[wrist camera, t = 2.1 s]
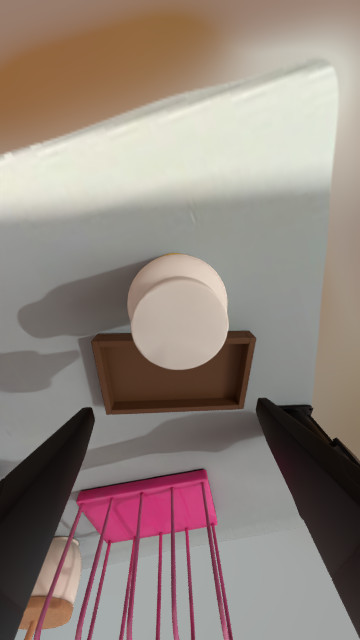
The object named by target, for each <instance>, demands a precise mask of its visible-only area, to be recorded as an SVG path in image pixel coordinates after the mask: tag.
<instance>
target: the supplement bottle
mask: <svg viewBox="0 0 360 640" xmlns="http://www.w3.org/2000/svg"><path fill="white" fill-rule="evenodd" d="M127 307H128V314H129V318H130V321H131V333H132V337H133V340H134V343H135V345H136V347H137V348H138V350H139V351H140V352H141V354H142V355H143V356H144V357H145V358H147V359H148V360H149V361H150V362H152V363H154V364H156V365H158V366H160V367H163V368H167V369H173V370H185V369H191V368H195V367H197V366H200V365H202V364H204V363H206V362H207V361H209V360H210V359H211V358H213V357H214V356H215V355H216V354H217V353H218V351H219V350H220V349H221V347H222V346H223V344H224V342H225V340H226V337H227V332H228V327H229V325H228V315H227V312H226V311H227V294H226V290H225V287H224V284H223V282H222V280H221V278H220V277H219V275H218V274H217V273H216V272H215V270H214V269H213V268H212V267H211V266H209V265H208V264H207V263H205V262H204V261H202V260H200V259H198V258H196V257H193V256H190V255H185V254H179V253H170V254H166V255H163V256H161V257H159V258H157V259H155V260H153V261H151V262H150V263H148V264H147V265H146V266H145V267H143V268H142V269H141V270H140V271H139V273H138V274H137V275H136V277H135V278H134V280H133V282H132V284H131V286H130V289H129V293H128V300H127Z"/></svg>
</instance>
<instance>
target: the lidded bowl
mask: <svg viewBox="0 0 360 640" xmlns="http://www.w3.org/2000/svg"><path fill="white" fill-rule="evenodd" d="M67 540H68V537H55V538H53V540H52V543H51V545H50V548H49V550H48V553H47V556H46V558H45V561H44V563H43V566H42V569H41V571H40V574H39V576H38V579H37V581H36V584H35V587H34V589H33V592H32V594H31V597H30V600H29V602H28V605H27V607H26V610H25V612H24V615H23V618H22V621H21V623H20V626H19V628H18V629H25V630H28V631H27V633H26V636H25V639H24V640H31V639H32V637H33V634H34V631H35V630H36V627H37V623H38V620H39V617H40V614H41V611H42V608H43V606H44V603H45V600H46V597H47V595H48V592H49V589H50V586H51V584H52V581H53V578H54V575H55V573H56V570H57V567H58V565H59V562H60V559H61V556H62V554H63V551H64V548H65V545H66V543H67ZM78 546H79V542H78V541H77V540H75V539H73V538H72V541H71V544H70V546H69V549H68V552H67V555H66V558H65V561H64V564H63V566H62V569H61V572H60V575H59V578H58V580H57V583H56V586H55V589H54V592H53V595H52V597H51V600H50V603H49V606H48V609H47V612H46V615H45V618H44V622H43V625H42V629H49V628H55V627H58V626H62V625H64V624H66V623H67V622H68V621H69V620H70V618H71V615H72V611H73V605H74V601H75V598H76V594H77V590H78V586H79V581H80V576H81V568H82V559H81V553H80V549H79V547H78Z"/></svg>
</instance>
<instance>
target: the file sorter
mask: <svg viewBox="0 0 360 640" xmlns="http://www.w3.org/2000/svg"><path fill="white" fill-rule="evenodd" d="M76 503H77V504H78V506H79V510H78V513H77V516H76V518H75V521H74V524H73V526H72V529H71V532H70V535H69V537H68V540H67V543H66V545H65V548H64V551H63V554H62V556H61V559H60V562H59V565H58V567H57V570H56V573H55V575H54V578H53V581H52V584H51V586H50V589H49V592H48V595H47V597H46V600H45V603H44V606H43V608H42V611H41V614H40V617H39V620H38V623H37V627H36V631H35V635H34V640H40V634H41V629H42V625H43V622H44V618H45V615H46V612H47V609H48V606H49V603H50V600H51V597H52V595H53V592H54V589H55V586H56V583H57V580H58V578H59V575H60V572H61V569H62V566H63V564H64V561H65V558H66V555H67V552H68V549H69V546H70V544H71V541H72V538H73V535H74V532H75V529H76V527H77V524H78V521H79V518H80V515H81V513H82V511H83V512H84V514H85V515H86V516H87V518H88V519H89V521H90V522H91V523H92V524H93V526H94V527H95V528H96V530H97V531H98V532H99V534H100V535H101V536H100V540H99V544H98V548H97V551H96V555H95V559H94V563H93V567H92V571H91V574H90V578H89V582H88V585H87V589H86V593H85V597H84V601H83V604H82V608H81V612H80V616H79V621H78V625H77V630H76V636H75V640H81V633H82V626H83V621H84V617H85V613H86V608H87V605H88V600H89V596H90V592H91V588H92V584H93V580H94V576H95V572H96V568H97V565H98V561H99V557H100V553H101V549H102V544H103V540H105V541H106V543H108V546H107V551H106V555H105V560H104V565H103V570H102V575H101V579H100V583H99V588H98V593H97V597H96V602H95V607H94V611H93V616H92V620H91V625H90V630H89V634H88V638H87V640H91V638H92V633H93V628H94V623H95V619H96V614H97V609H98V604H99V599H100V595H101V590H102V585H103V580H104V575H105V571H106V566H107V561H108V556H109V551H110V546H111V543H115V542H120V541H126V540H133V539H134V540H133V547H132V554H131V561H130V568H129V575H128V582H127V589H126V596H125V603H124V611H123V617H122V624H121V631H120V637H119V640H123V636H124V628H125V621H126V613H127V606H128V599H129V608H128V619H127V640H132V617H133V604H134V592H135V582H136V571H137V561H138V551H139V540H140V538H145V537H151V536H157V535H160V536H159V567H158V596H157V597H158V598H157V625H156V640H160V609H161V566H162V535H163V534H169V533H171V579H172V580H171V586H172V587H171V589H172V590H171V592H172V623H173V634H174V640H179V636H178V626H177V612H176V573H175V572H176V570H175V532H180V531H185V532H186V550H187V566H188V586H189V602H190V620H191V640H195V630H194V612H193V599H192V582H191V568H190V552H189V536H188V530H192V529H198V528H204V527H207V531H208V538H209V545H210V552H211V558H212V566H213V573H214V580H215V587H216V594H217V600H218V607H219V613H220V619H221V625H222V631H223V636H224V640H233V637H232V631H231V624H230V618H229V612H228V606H227V600H226V594H225V588H224V582H223V576H222V570H221V564H220V558H219V552H218V546H217V539H216V534H215V528H214V526H215V525H217V518H216V513H215V508H214V504H213V499H212V495H211V490H210V486H209V481H208V477H207V472H206V470H200V471H194V472H188V473H182V474H177V475H171V476H165V477H159V478H154V479H148V480H142V481H136V482H131V483H125V484H120V485H114V486H108V487H103V488H97V489H91V490H86V491H81V492H80V493H79V496H78V499H77V501H76ZM210 526H212V532H213V538H214V544H215V551H216V557H217V563H218V570H219V576H220V583H221V589H222V596H223V602H224V608H225V615H226V621H227V627H228V632H227V627H226V621H225V615H224V609H223V603H222V597H221V592H220V585H219V579H218V573H217V566H216V560H215V553H214V546H213V540H212V533H211V527H210ZM131 576H132V578H131ZM130 584H131V588H130ZM129 591H130V598H129ZM228 635H229V636H228Z"/></svg>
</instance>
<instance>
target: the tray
mask: <svg viewBox="0 0 360 640" xmlns="http://www.w3.org/2000/svg"><path fill="white" fill-rule="evenodd" d="M255 342H256V337H255V336H254V335H253V334H252V333H251V332H250V331H228V332H227V337H226V340H225V342H224V344H223V346H222V347H221V349H220V350H219V351H218V353H217V354H216V355H215V356H214V357H213V358H211V359H210V360H209V361H207V362H206V363H204V364H202V365H200V366H197V367H195V368H191V369H185V370H173V369H167V368H163V367H160V366H158V365H156V364H154V363H152V362H150V361H149V360H148V359H147V358H145V357H144V356H143V355H142V354H141V352H140V351H139V350H138V348H137V347H136V345H135V343H134V340H133V337H132V333H112V334H97V336H96V337H95V338H94V339H93V340H92V341H91V343H92V347H93V352H94V357H95V362H96V367H97V371H98V376H99V381H100V386H101V391H102V395H103V400H104V405H105V410H106V414H107V415H110V414H112V415H114V414H137V413H161V412H185V411H208V410H232V409H243V408H244V402H245V397H246V391H247V386H248V380H249V375H250V369H251V364H252V358H253V353H254V347H255Z"/></svg>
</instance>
